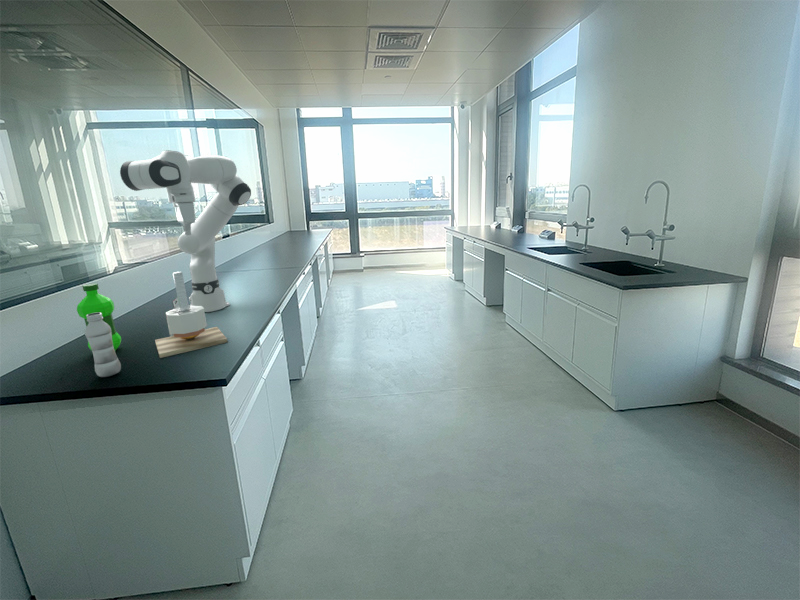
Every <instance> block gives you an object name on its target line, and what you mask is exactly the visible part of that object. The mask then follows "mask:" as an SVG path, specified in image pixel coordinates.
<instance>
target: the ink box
mask: <svg viewBox="0 0 800 600" xmlns="http://www.w3.org/2000/svg"><path fill="white" fill-rule="evenodd" d="M172 307H173V309H175V308H180V307H179V302H178V297H176V298H175V299H174V300H173V301H172ZM165 318H166V319H167V317H166V316H165ZM166 323H167V324H168V321H167V320H166ZM167 327H168V333H169V337H171V336H174V334H171V333H170V330H169V326H168V325H167Z"/></svg>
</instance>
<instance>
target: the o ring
mask: <svg viewBox="0 0 800 600" xmlns="http://www.w3.org/2000/svg"><path fill="white" fill-rule="evenodd" d="M205 329H206V328H203V329H201V330H199V331H195V332H190V333H186V334H174V336H175V337H190V336H194V335H198V334H200V333H202V332H204V331H205Z"/></svg>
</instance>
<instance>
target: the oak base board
mask: <svg viewBox="0 0 800 600" xmlns="http://www.w3.org/2000/svg"><path fill="white" fill-rule="evenodd" d="M204 329H205V331H204V332H202V333H200V334H199V335H198V336H197V337H195V339H194V340H190V341H187V340H186V339H181V338H180V337H175V336H171V337H170V336H167V337H162V338H158V339H155V340H154V341H155V346H156V349H157V352H158V356H159V359H161V358H162V359H163V358H166V357H170V356H171V357H172V356H174V355H178V354H183V353H187V352H191V351H192V352H193V351H196V350H200V349H205V348H208V347H213V346H218V345H222V344H226V343H228V338H227V336H225V335H224V333H223V332H222V331H221V330H220V328H219V327H218V326H215V327H210V328H204Z"/></svg>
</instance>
